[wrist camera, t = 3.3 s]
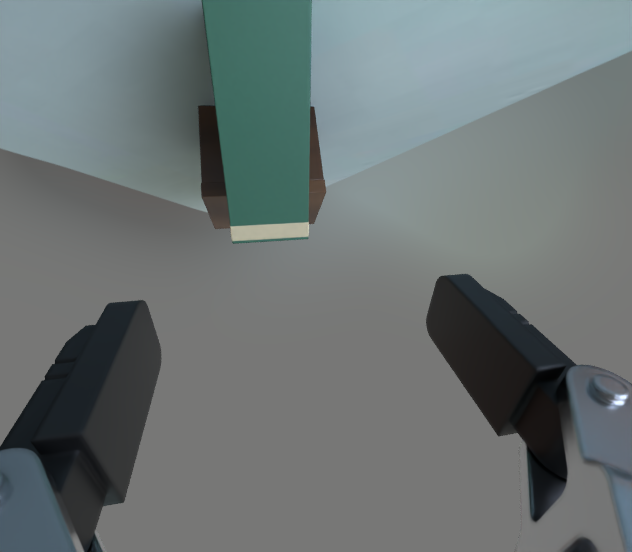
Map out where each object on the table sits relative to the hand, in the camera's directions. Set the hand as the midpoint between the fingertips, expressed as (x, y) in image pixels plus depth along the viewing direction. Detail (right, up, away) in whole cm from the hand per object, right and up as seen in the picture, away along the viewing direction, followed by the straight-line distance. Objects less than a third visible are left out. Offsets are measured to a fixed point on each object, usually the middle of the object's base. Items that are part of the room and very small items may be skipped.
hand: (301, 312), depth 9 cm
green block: (-3, +11, +13) cm, 17 cm away
